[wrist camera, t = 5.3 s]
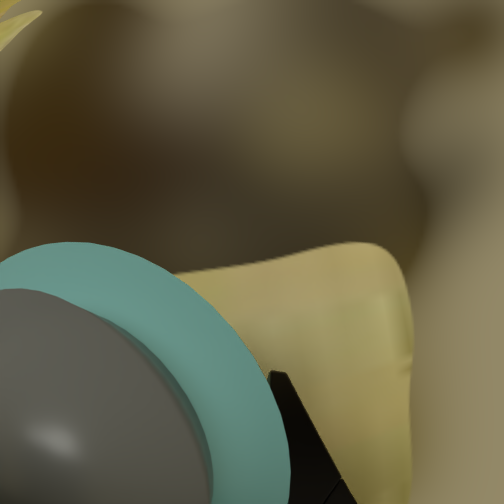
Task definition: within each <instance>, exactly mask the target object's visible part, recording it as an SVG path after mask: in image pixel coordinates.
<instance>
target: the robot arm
mask: <svg viewBox="0 0 504 504" xmlns="http://www.w3.org/2000/svg"><path fill="white" fill-rule="evenodd" d="M267 382H268V384H269V386H270V388H271V391H272V393H273V396H274V399H275V401H276V404H277V406H278V409H279V411H280V413H281V417H282V421H283V425H284V429H285V433H286V437H287V441H288V448H289V459H290V469H291V474H290V489H289V499H288V504H357V502H356V501H355V499H354V497H353V496H352V494H351V492H350V491H349V489H348V487H347V485H346V483H345V482H344V480H343V479H341V474H340V473H339V471H338V469H337V467H336V465H335V463H334V462H333V460H332V458H331V456H330V454H329V452H328V451H327V449H326V447H325V445H324V443H323V441H322V439H321V438H320V436H319V434H318V432H317V430H316V428H315V426H314V424H313V423H312V421H311V419H310V417H309V415H308V413H307V411H306V409H305V407H304V406H303V404H302V402H301V400H300V398H299V396H298V394H297V392H296V390H295V388H294V386H293V385H292V383H291V381H290V379H289V377H288V375H287V374H286V373H285V372H280V371H274V370H272V371H270V372H269V375H268V378H267Z"/></svg>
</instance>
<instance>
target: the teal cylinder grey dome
mask: <svg viewBox="0 0 504 504" xmlns="http://www.w3.org/2000/svg"><path fill="white" fill-rule="evenodd" d="M290 474H291V469H290V459H289V448H288V441H287V437H286V433H285V429H284V425H283V421H282V417H281V413H280V411H279V409H278V406H277V404H276V401H275V399H274V396H273V393H272V391H271V388H270V386H269V384H268V382H267V380H266V378H265V377H264V375H263V373H262V371H261V369H260V368H259V366H258V364H257V362H256V360H255V359H254V357H253V355H252V354H251V353H250V351H249V350H248V348H247V347H246V346H245V344H244V343H243V342H242V340H241V339H240V337H239V336H238V335H237V333H236V332H235V330H234V329H233V328H232V327H231V326H230V325H229V324H228V323H227V322H226V321H225V319H224V318H223V317H222V316H221V315H220V314H219V313H218V312H217V311H216V310H215V308H214V307H213V306H212V305H210V304H209V303H208V302H207V301H206V300H205V299H203V298H202V297H201V296H200V295H199V294H198V293H197V292H195V291H194V290H193V289H192V288H191V287H190V286H188V285H187V284H185V283H184V282H183V281H181V280H180V279H178V278H177V277H175V276H174V275H172V274H171V273H169V272H168V271H166V270H165V269H163V268H161V267H159V266H157V265H155V264H153V263H151V262H149V261H147V260H145V259H143V258H141V257H139V256H137V255H133V254H131V253H128V252H125V251H122V250H119V249H117V248H113V247H108V246H103V245H98V244H93V243H79V242H63V243H53V244H45V245H42V246H38V247H35V248H31V249H27V250H25V251H22V252H20V253H18V254H16V255H14V256H11V257H9V258H7V259H6V260H4V261H3V262H1V263H0V504H288V499H289V489H290Z"/></svg>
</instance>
